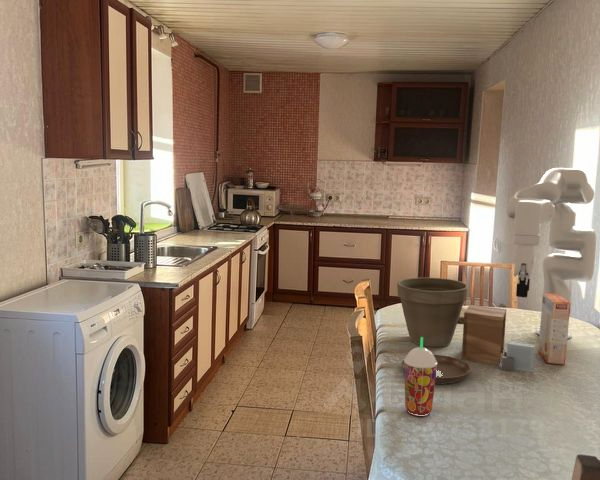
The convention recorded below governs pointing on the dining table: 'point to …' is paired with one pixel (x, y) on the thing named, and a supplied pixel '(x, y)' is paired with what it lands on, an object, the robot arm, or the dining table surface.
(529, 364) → the door
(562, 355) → the cracker box
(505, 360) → the hinge clips
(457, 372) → the plant saucer
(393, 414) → the dining table surface
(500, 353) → the tan wooden box
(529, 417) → the dining table surface
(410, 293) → the plant pot
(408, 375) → the smoothie
